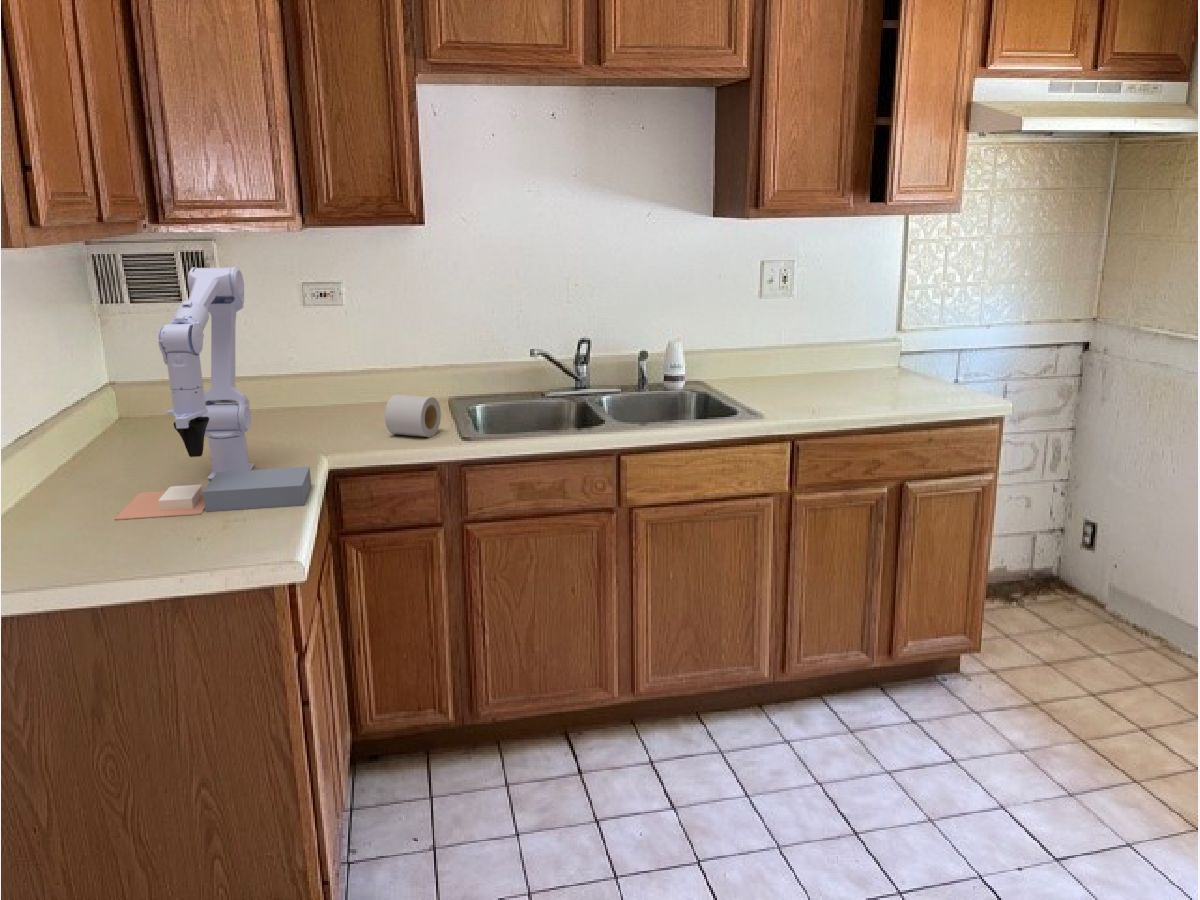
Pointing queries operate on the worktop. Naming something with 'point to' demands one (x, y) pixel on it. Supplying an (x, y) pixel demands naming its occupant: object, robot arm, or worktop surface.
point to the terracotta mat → (155, 507)
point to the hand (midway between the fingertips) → (196, 455)
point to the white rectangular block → (180, 497)
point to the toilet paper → (412, 415)
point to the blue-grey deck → (257, 489)
